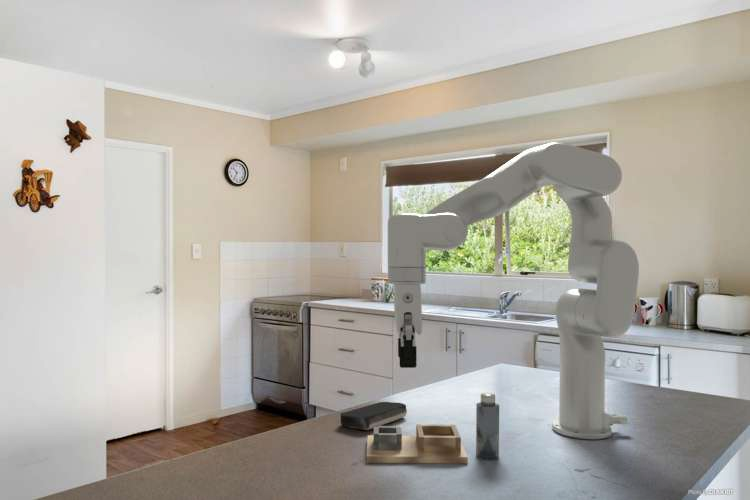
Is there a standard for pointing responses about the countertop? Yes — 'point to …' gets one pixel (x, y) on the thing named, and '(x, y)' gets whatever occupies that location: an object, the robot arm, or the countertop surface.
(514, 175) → the robot arm
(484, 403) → the bottle
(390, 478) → the countertop surface
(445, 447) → the holder
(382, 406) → the black sponge
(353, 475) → the countertop surface
